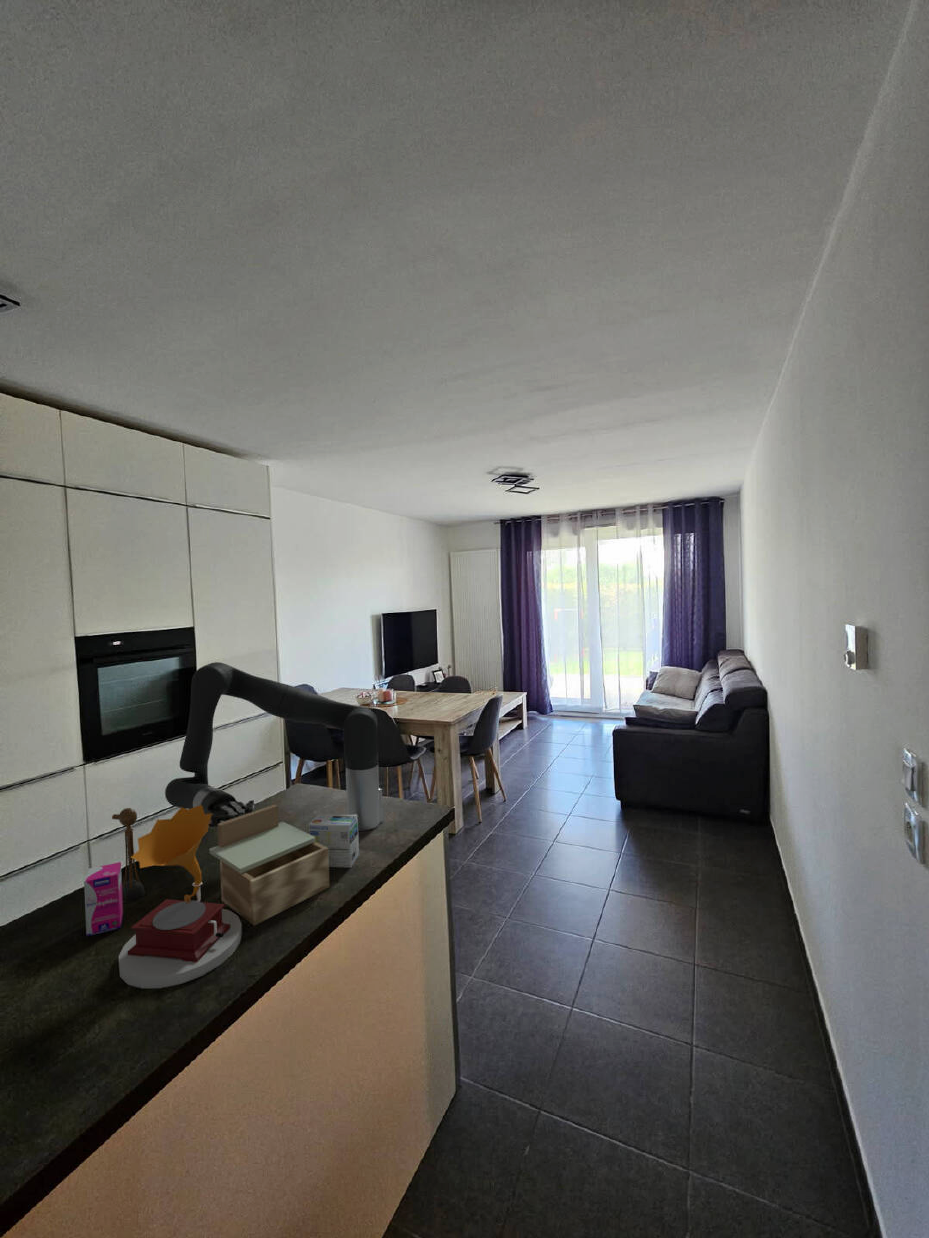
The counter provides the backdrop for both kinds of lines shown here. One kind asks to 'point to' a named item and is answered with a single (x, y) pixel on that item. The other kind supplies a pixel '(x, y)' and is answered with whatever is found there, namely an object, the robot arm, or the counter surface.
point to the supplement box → (103, 899)
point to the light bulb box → (337, 837)
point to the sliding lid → (257, 839)
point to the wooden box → (276, 883)
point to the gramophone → (178, 913)
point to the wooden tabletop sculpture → (133, 887)
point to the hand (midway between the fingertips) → (247, 822)
